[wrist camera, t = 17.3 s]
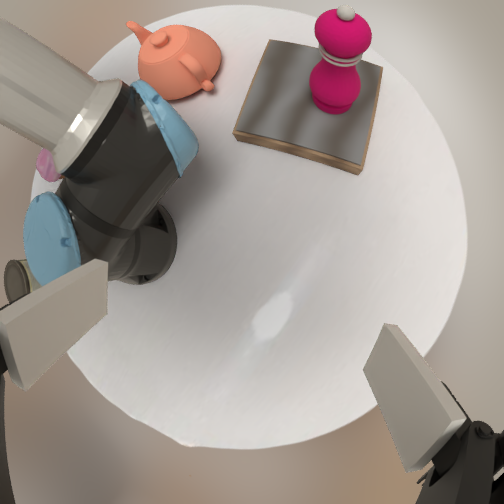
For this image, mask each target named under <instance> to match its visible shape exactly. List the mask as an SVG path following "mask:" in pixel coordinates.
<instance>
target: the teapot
mask: <svg viewBox="0 0 504 504" xmlns="http://www.w3.org/2000/svg"><path fill="white" fill-rule="evenodd" d="M126 25H127V27H128V28H130V29H131V30H132V31H133V32H134V33H135V35H136V36H137V38H138V40H139V42H140V44H141V45H142V46H141V48H140V51H139V56H138V71H139V76H140V79H141V80H143V81H145V82H147V83H148V84H149V85H150V86H152V87H153V88H154V89H155V90H156V91H157V93H158V94H159V95H160V96H162V99H165V100H174V99H180V98H183V97H186V96H189V95H191V94H193V93H195V92H197V91H198V90H200V89H201V88H203V89H204V90H205V91H211V90H212V89H213V88H214V84H213V83H212V82H211V81H210V80H211V79H212V78H213V76H214V75H215V74H216V72H217V70H218V68H219V65H220V61H221V52H220V49H219V47H218V45H217V44H216V42H215V41H214V40H213V39H212V38H211V37H210V36H209V35H207V34H206V33H204V32H203V31H201V30H198V29H196V28H192V27H188V26H184V25H170V26H166V27H163V28H161V29H159V30H157V31H156V32H154V33H152V32H150V31H148V30H146V29H145V28H143V27H141V26H140V25H138V24H137V23H135V22H132V21H128V22H127V23H126Z"/></svg>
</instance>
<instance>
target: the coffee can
mask: <svg viewBox="0 0 504 504" xmlns="http://www.w3.org/2000/svg"><path fill="white" fill-rule="evenodd" d="M4 286H5V291H6V295H7V299H8V301H9V303H10V302H12V301H14V300H16V299H17V298H19V297H21V296H22V295H24V294H27V293H31V292H33V291H35V290H37V289H39V288H40V287H42V286H41V285H40V284H39V282H38V281H37V280H36V279H35V277H34V275H33V274H32V272H31V270H30V267H29V265H28V262H27V259H25V260H10V261H9V262H8V263H7V265H6V268H5V272H4Z"/></svg>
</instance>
